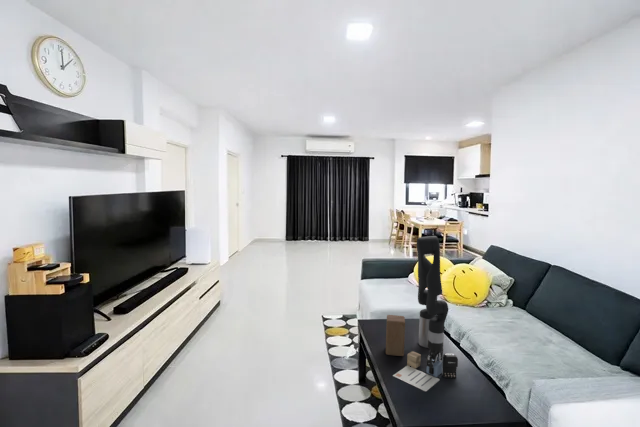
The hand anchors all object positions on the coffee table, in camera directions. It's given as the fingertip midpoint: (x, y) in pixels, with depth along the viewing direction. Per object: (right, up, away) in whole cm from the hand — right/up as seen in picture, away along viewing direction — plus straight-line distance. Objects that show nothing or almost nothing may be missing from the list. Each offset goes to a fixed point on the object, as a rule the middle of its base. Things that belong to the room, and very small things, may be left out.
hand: (434, 371), depth 175 cm
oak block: (-8, 0, +7) cm, 11 cm away
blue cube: (0, -1, 0) cm, 1 cm away
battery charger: (+6, -1, -4) cm, 8 cm away
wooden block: (-15, +1, +21) cm, 26 cm away
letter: (-11, -1, -5) cm, 12 cm away
